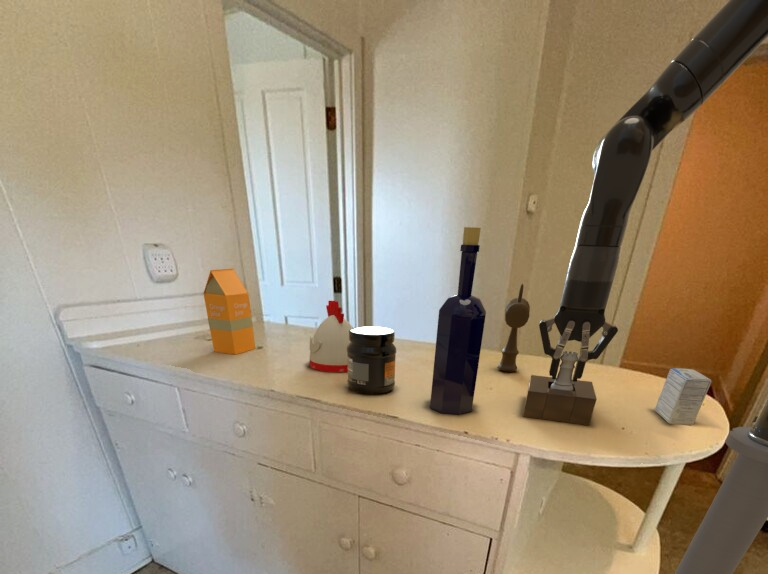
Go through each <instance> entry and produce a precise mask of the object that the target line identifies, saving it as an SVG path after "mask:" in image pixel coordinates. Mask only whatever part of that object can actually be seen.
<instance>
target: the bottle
mask: <svg viewBox="0 0 768 574" xmlns="http://www.w3.org/2000/svg"><path fill="white" fill-rule="evenodd" d="M481 229H482V228H481V227H472V226H471V227H470V226H467V227H466V226H464V227H463V235H462V244H460V252H461V255H460V264H459V265H460V266H459V276H458V285H457V286H458V287H457V294H453V295H450V296H448V297H447V298H446V300H444V302H443V303H442V304H441V306H440V307H439V309H438V317H437V318H438V319H437V329H436V338H435V339H436V340H435V351H434V360H433V371H432V381H431V391H430V404H429V407H428V408H429V409H431V410H433V411H435V412H438V413H439V414H446V415H457V416H459V415H460V416H461V415H464V414H469V413H472V412H473V405H474V399H475V398H474V397H475V392H476V384H477V378H478V371H479V364H480V358H481V349H482V342H483V337H484V329H485V322H486V314H487V311H486V308H485V306H484V304H483V302H482V300H481V298H480V297H477V296H475V295H473V294H472V292H473V285H474V279H475V273H476V265H477V259H478V253H480V247H481V245H480V244H479V242H480V235H481Z"/></svg>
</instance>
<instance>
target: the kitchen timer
mask: <svg viewBox="0 0 768 574" xmlns="http://www.w3.org/2000/svg"><path fill="white" fill-rule="evenodd" d="M327 303H328V304H327V305H325V307H326V313H327V317H326V318H325V319H323V320H322V321H321V323H319V325H318V327H317V328H316V331H315V333H314V335H313V336H309V337H310V338H309V367H310V368H311V369H313V370H316V371H320V372H325V373H326V372H327V373H348V362H347V346H348V344H349V343H350V340H349V330H350V329H352V328H354V327H353V325H352V324H351V323H350V322H349V321H348V320H347V319H346V318H345V313H342V307H340V306H339V301H338V300H337V301H336V300H328V302H327Z"/></svg>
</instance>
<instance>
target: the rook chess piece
mask: <svg viewBox="0 0 768 574" xmlns="http://www.w3.org/2000/svg"><path fill="white" fill-rule="evenodd" d="M578 354H579V353H578V352H577V351H571V350H569V351H567V350H565V351H562V354H561V356H560V363H559V369H558V372H557V376H556V380H555V381H554V383H553V384H551V386H550V388H551V389H560V390H568V391H573V386H572V379H573V374H574V370H575V367H576V363H577V360H578V359H579V357H578Z"/></svg>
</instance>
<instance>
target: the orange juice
mask: <svg viewBox="0 0 768 574" xmlns="http://www.w3.org/2000/svg"><path fill="white" fill-rule="evenodd" d="M204 287H205V288H204V290H203V293H202V294H203V299H204V304H205V309H206V315H207V323H208V327H209V331H210V332H209V333H210V338H211V343H212V348H213V352H216V353H222V354H228V355H234V356H235V355H239V354H243V353H245V352H246V353H247V352H250V351H253V350H255V349H256V341H255V335H254V333H255V332H254V324H253V316H252V310H251V304H250V296H249V295H250V294H249V292H248V290H247V289H246V287H245V285H244V284H243V282H242V281H241V278H240V277H239V276H238V274H237V272H236V271H235V268H223V269H222V268H221V269H211V270H209V273H208V277H207V281H206V284H205V286H204Z"/></svg>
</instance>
